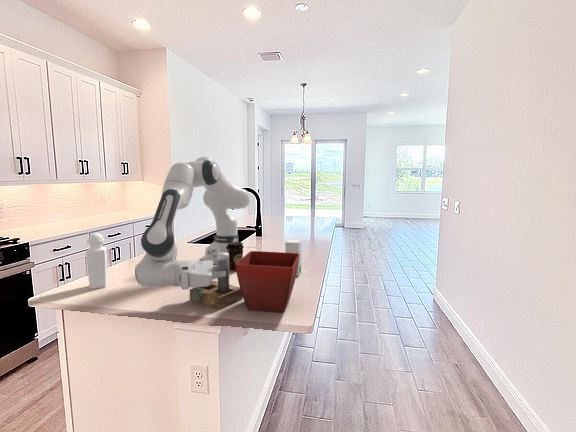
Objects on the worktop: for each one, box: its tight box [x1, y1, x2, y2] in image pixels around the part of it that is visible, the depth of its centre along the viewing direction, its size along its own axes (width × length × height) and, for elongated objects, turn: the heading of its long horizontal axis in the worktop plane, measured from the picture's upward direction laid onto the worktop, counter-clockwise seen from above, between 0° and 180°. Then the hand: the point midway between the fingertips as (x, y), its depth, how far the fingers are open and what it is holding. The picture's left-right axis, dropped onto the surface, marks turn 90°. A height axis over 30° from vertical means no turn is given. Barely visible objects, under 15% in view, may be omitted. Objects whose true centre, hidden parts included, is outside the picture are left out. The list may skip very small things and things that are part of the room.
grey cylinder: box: [217, 252, 230, 294], centre depth 115 cm, size 4×4×14 cm
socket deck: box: [189, 280, 244, 310], centre depth 119 cm, size 15×12×4 cm
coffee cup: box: [226, 241, 244, 272], centre depth 157 cm, size 9×8×13 cm
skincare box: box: [284, 239, 302, 277], centre depth 150 cm, size 8×7×16 cm
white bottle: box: [85, 232, 108, 290], centre depth 131 cm, size 6×6×22 cm
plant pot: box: [235, 250, 300, 313], centre depth 113 cm, size 19×19×17 cm
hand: (226, 271), depth 116 cm, fingers closed on grey cylinder, 4 cm apart
